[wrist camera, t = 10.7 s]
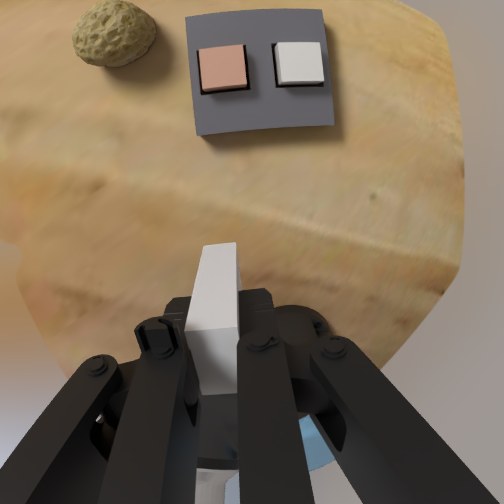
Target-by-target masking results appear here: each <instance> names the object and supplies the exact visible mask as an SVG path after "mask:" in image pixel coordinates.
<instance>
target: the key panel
mask: <svg viewBox="0 0 504 504" xmlns="http://www.w3.org/2000/svg"><path fill="white" fill-rule="evenodd" d="M185 20H186V33H187V45H188V56H189V67H190V78H191V88H192V98H193V107H194V116H195V125H196V134H197V136H201V135H209V134H217V133H225V132H234V131H244V130H255V129H267V128H280V127H298V126H323V125H335V121H334V108H333V96H332V86H331V76H330V66H329V58H328V49H327V42H326V34H325V27H324V20H323V14H322V10H320V9H257V10H241V11H230V12H220V13H211V14H204V15H197V16H190V17H185ZM279 42H320V48H321V57H322V65H323V75H324V81H323V82H321V83H319V84H317V85H318V87H289V88H276V86H275V76H274V66H273V57H272V49H275V47H276V45H277V43H279ZM242 44H243V50H245V52H246V62H247V71H248V81H249V90H243V91H233V92H224V93H216V94H208V95H203V92H202V82H201V72H200V61H199V49H206V48H213V47H222V46H231V45H242Z"/></svg>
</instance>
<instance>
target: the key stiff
mask: <svg viewBox="0 0 504 504" xmlns="http://www.w3.org/2000/svg"><path fill="white" fill-rule="evenodd" d="M199 57H200V68H201V78H202V88H203V90H204V91H205V92H211V91H219V90H228V89H237V88H246V85H247V81H246V72H245V62H244V52H243V44H242V45H231V46H222V47H213V48H206V49H199Z"/></svg>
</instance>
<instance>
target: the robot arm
mask: <svg viewBox="0 0 504 504" xmlns="http://www.w3.org/2000/svg"><path fill="white" fill-rule="evenodd" d="M134 332H135V335H136V338H137V341H138V344H139V346H140V349H141V352H142V353H141V356H140V358H139V359H137V360H134V361H130V362H126V363H122V364H118V363H117V361H116V360H115V358H114V357H112V356H110V355H103V354H101V355H96V356H93V357H91V358H89V359H87V360H86V361H85V362H83V363H82V364H81V365H80V367H79V368H78V369H77V370H76V371H75V373H74V374H73V375H72V376H71V378H70V379H69V380H68V381H67V383H66V384H65V385H64V386H63V387H62V389H61V390H60V391H59V392H58V394H57V395H56V396H55V397H54V399H53V400H52V401H51V402H50V404H49V405H48V406H47V407H46V409H45V410H44V412H42V414H41V415H40V416H39V418H38V419H37V420H36V422H35V423H34V424H33V425H32V427H31V428H30V429H29V431H28V432H27V433H26V435H25V436H24V437H23V439H22V440H21V441H20V443H19V444H18V445H17V447H16V448H15V450H14V451H13V452H12V454H11V455H10V456H9V458H8V459H7V461H6V462H5V463H4V465H3V466H2V467H1V469H0V504H224V499H225V484H226V482H227V481H228V479H230V478H231V477H233V476H234V475H235V474H236V473H238V472H239V483H240V484H239V485H240V504H315V502H314V496H313V491H312V486H311V480H310V475H309V471H312V470H315V469H318V468H320V467H323V466H324V465H326V464H328V463H330V462H332V461H333V460H335V459H336V461H337V463H338V464H339V466H340V467H341V469H342V470H343V472H344V474H345V476H346V477H347V479H348V481H349V482H350V484H351V485H352V487H353V489H354V490H355V492H356V493H357V495H358V496H359V498H360V500H361V501H362V503H363V504H499V502H498V501H497V500H496V499H495V498H494V497H493V496H492V494H491V493H490V492H489V491H488V490H487V489H486V487H485V486H484V485H483V484H482V483H481V482H480V481H479V479H478V478H477V477H476V476H475V475H474V474H473V473H472V472H471V471H470V469H469V468H468V467H467V466H466V465H465V464H464V463H463V462H462V460H461V459H460V458H459V457H458V456H457V455H456V454H455V453H454V451H453V450H452V449H451V448H450V447H449V446H448V445H447V444H446V443H445V441H444V440H443V439H442V438H441V437H440V436H439V435H438V434H437V433H436V431H435V430H434V429H433V428H432V427H431V426H430V425H429V424H428V423H427V422H426V420H425V419H424V418H423V417H422V416H421V415H420V414H419V413H418V412H417V411H416V409H415V408H414V407H413V406H412V405H411V404H410V403H409V402H408V401H407V400H406V399H405V397H404V396H403V395H402V394H401V393H400V392H399V391H398V390H397V389H396V387H395V386H394V385H393V384H392V383H391V382H390V381H389V380H388V379H387V378H386V377H385V376H384V374H383V373H382V372H381V371H380V370H379V369H378V368H377V367H376V366H375V365H374V364H373V363H372V361H371V360H370V359H369V358H368V357H367V356H366V355H365V354H364V353H363V352H362V351H361V350H360V348H359V347H358V346H357V345H356V344H355V343H354V342H352V341H351V340H350V339H348V338H345V337H342V336H332V333H331V330H330V328H329V326H328V323H327V322H326V320H325V319H324V318H323V316H322V315H320V314H319V313H318V312H316V311H315V310H313V309H310V308H308V307H304V306H298V305H285V306H280V307H276V308H274V306H273V301H272V296H271V294H270V293H269V292H268V291H267V290H266V289H265V288H260V289H251V290H242V287H241V279H240V271H239V263H238V255H237V246H236V242H234V243H225V244H215V245H206V246H204V247H203V251H202V255H201V259H200V264H199V268H198V272H197V276H196V280H195V285H194V289H193V293H192V296H189V297H177V298H173V299H172V300H171V301H170V302H169V303H168V304H167V305H166V308H165V311H164V315H163V316H159V317H153V318H150V319H147V320H145V321H143V322H141V323H140V324H139V325H137V327H136V328H135V329H134ZM100 414H101V416H102V417H101V418H100V419H99V420H98V421H97V422H96V419H97V418H98V416H99V415H100Z"/></svg>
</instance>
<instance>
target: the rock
mask: <svg viewBox="0 0 504 504" xmlns="http://www.w3.org/2000/svg"><path fill="white" fill-rule="evenodd" d="M155 34H156V26H155V24H154V21H153V18H151V17H150V16H149V15H148V14H147V13H146V12H145V11H143V10H141V9H140V8H139V7H137V6H135V5H134V4H132V3H129V2H126V1H120V0H104V1H102V2H100V3H97V4H96V5H95V6H93V7H92V8H90V10H89V11H87V12H86V13H85V14H84V15H83V16H82V17H81V19H80V20H79V22H78V23H77V25H76V27H75V29H74V32H73V35H72V39H73V47H74V49H75V53H76V54H77V55H78V56H79V57H80V58H81V59H82V60H83V61H85V62H86V63H87V64H91V65H95V66H112V67H113V66H114V67H121V66H124V65H126V64H128V63H130V62H134V60H135V59H137V58H139V57H141V56H142V55H144V54H145V53H146V52H147V51H148V48H149V46H150V45H151V44H152V43H153V41H154V39H155Z"/></svg>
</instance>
